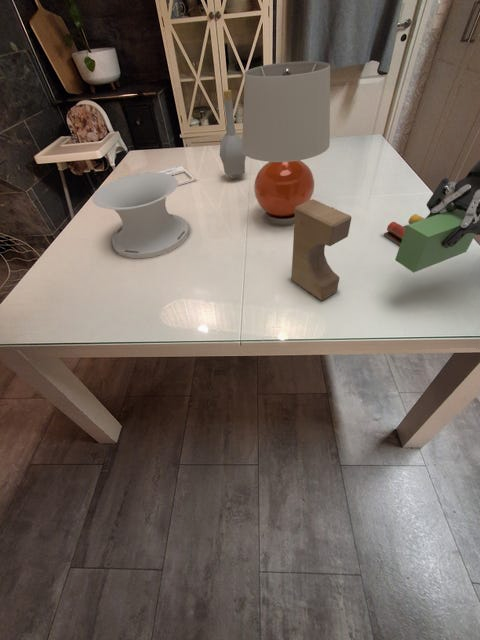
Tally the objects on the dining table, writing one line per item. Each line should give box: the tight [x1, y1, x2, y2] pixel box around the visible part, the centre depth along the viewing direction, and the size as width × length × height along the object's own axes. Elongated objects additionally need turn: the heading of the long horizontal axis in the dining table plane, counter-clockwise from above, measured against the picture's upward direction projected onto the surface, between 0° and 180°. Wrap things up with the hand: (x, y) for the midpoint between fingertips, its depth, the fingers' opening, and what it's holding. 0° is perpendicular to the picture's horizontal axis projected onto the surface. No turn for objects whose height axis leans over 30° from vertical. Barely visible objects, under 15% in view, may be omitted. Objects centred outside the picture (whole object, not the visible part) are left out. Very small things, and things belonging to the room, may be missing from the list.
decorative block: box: [290, 198, 352, 302], centre depth 68 cm, size 11×6×20 cm, turn 34°
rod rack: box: [383, 213, 426, 247], centre depth 84 cm, size 12×12×4 cm
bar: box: [394, 209, 480, 273], centre depth 59 cm, size 5×14×8 cm, turn 114°
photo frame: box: [156, 165, 196, 186], centre depth 131 cm, size 15×1×18 cm
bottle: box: [219, 89, 247, 180], centre depth 115 cm, size 11×11×30 cm
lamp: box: [241, 60, 331, 227], centre depth 86 cm, size 25×25×39 cm
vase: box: [91, 171, 190, 259], centre depth 93 cm, size 25×25×16 cm
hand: (432, 238), depth 58 cm, fingers closed on bar, 5 cm apart
